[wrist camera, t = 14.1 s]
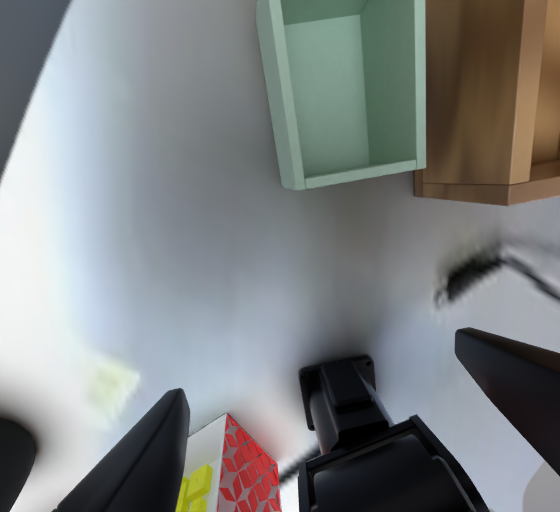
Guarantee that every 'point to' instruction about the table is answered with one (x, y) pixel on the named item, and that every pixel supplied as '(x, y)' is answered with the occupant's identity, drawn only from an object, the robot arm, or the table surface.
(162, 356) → the table surface
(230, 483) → the red and white cube
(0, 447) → the mug
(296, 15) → the bin
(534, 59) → the crate
